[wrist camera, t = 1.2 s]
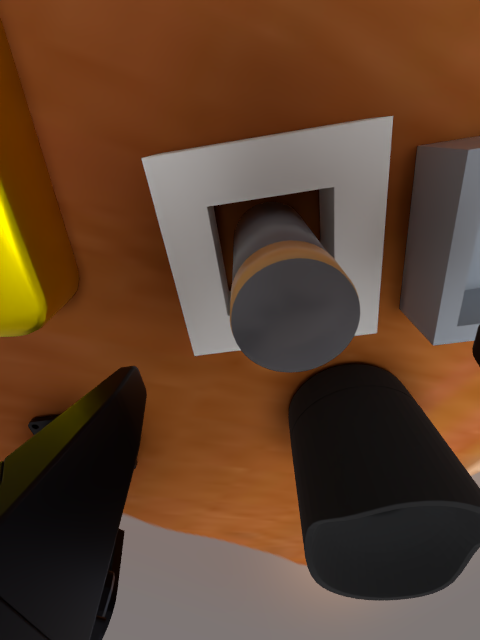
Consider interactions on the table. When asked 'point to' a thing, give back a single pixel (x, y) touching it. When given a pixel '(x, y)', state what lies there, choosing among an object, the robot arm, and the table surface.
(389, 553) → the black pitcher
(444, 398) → the table surface
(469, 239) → the square tray
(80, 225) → the table surface
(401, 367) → the table surface
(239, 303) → the battery cell
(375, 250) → the square frame
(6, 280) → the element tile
